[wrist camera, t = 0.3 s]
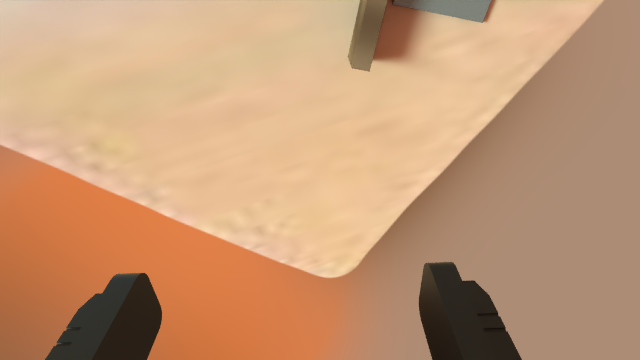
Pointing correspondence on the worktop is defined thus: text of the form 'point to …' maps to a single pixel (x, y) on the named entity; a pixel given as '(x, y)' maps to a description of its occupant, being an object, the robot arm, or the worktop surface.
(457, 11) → the grey mat
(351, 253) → the worktop surface
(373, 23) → the walnut wall
